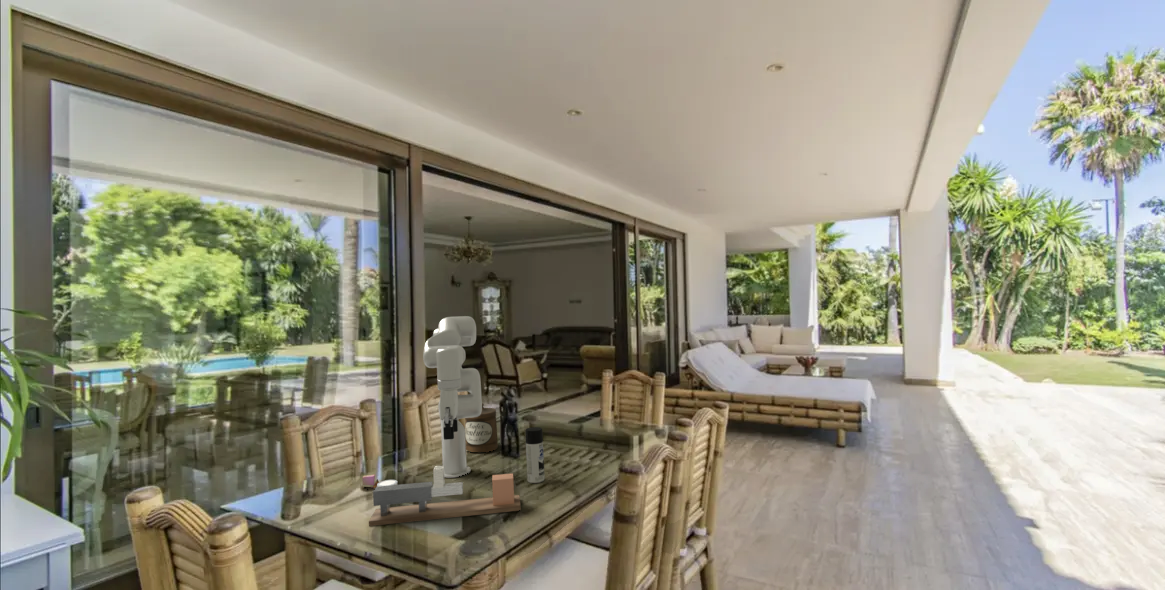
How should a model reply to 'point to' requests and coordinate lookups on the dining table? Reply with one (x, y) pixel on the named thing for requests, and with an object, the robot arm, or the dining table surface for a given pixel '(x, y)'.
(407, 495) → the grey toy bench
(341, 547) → the dining table surface
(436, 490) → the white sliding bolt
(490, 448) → the wooden container
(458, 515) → the base board
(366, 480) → the perfume bottle
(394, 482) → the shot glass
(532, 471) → the spray can
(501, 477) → the socket
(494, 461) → the dining table surface
